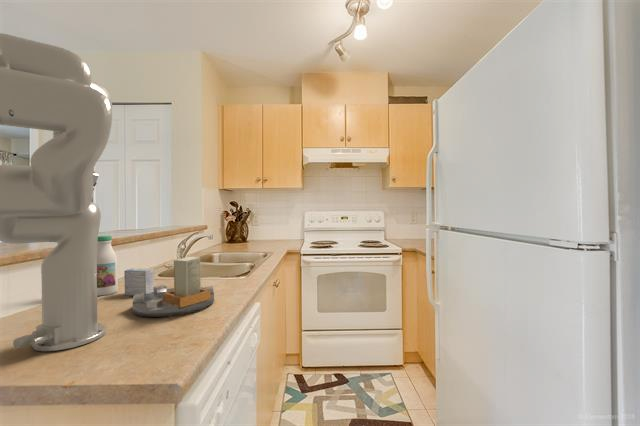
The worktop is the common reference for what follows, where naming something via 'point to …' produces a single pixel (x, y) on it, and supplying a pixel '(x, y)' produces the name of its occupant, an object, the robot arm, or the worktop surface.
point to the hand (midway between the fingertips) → (72, 205)
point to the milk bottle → (106, 267)
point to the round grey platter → (170, 302)
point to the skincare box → (187, 276)
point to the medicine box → (139, 281)
